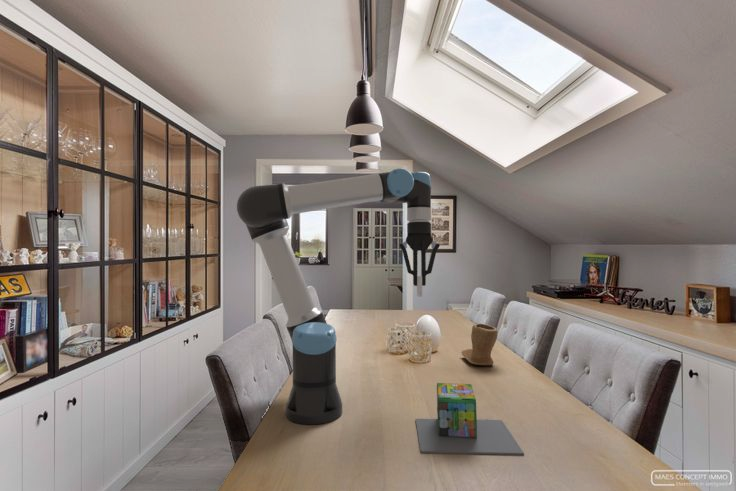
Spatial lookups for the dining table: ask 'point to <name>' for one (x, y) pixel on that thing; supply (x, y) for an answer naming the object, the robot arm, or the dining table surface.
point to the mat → (468, 439)
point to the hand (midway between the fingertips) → (419, 296)
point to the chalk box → (456, 410)
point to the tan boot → (481, 344)
